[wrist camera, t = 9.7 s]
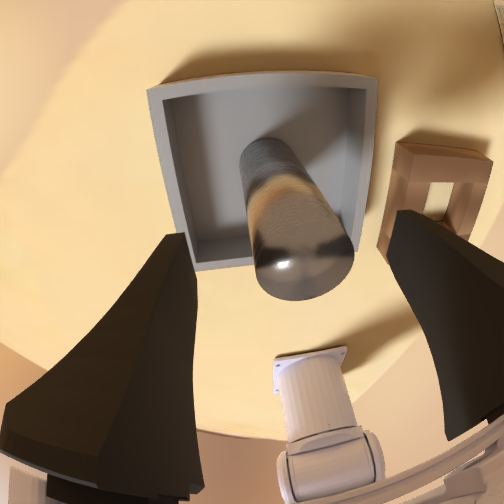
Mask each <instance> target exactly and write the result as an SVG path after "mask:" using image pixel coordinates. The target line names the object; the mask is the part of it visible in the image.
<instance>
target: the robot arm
mask: <svg viewBox="0 0 504 504" xmlns="http://www.w3.org/2000/svg"><path fill="white" fill-rule="evenodd" d="M386 257H387V260H388V262H389V265H390V267H391V270H392V272H393V274H394V277H395V279H396V281H397V283H398V285H399V286H400V288H401V290H402V292H403V294H404V295H405V297H406V299H407V301H408V303H409V304H410V306H411V308H412V310H413V312H414V314H415V316H416V318H417V319H418V321H419V323H420V325H421V327H422V330H423V332H424V334H425V336H426V339H427V342H428V345H429V348H430V351H431V354H432V357H433V360H434V364H435V368H436V371H437V375H438V379H439V385H440V390H441V395H442V401H443V411H444V423H445V434H446V437H447V440H448V441H451V440H452V439H454V438H456V437H458V436H459V435H461V434H463V433H464V432H466V431H468V430H469V429H471V428H473V427H474V426H476V425H477V424H479V423H480V422H482V421H484V420H485V419H487V421H488V424H489V425H488V426H486V427H485V428H483V429H482V430H480V431H479V432H477V433H476V434H474V435H472V436H471V437H469V438H468V439H466V440H464V441H463V442H461V443H460V444H458V445H456V446H455V447H452V448H451V449H449V450H447V451H445V452H443V453H442V454H440V455H438V456H436V457H434V458H432V459H430V460H428V461H426V462H424V463H422V464H419V465H418V466H415V467H413V468H411V469H408V470H406V471H404V472H401V473H399V474H396V475H394V476H391V477H389V478H386V479H385V462H384V456H383V452H382V449H381V446H380V443H379V441H378V439H377V437H376V435H375V434H373V433H371V432H370V431H368V430H365V431H363V430H362V426H357V422H356V419H355V415H354V412H353V408H352V405H351V401H350V398H349V395H348V391H347V388H346V384H345V381H344V378H343V375H342V371H341V366H342V363H343V361H344V358H345V356H346V353H347V350H348V349H347V347H346V346H342V347H337V348H332V349H327V350H322V351H317V352H311V353H306V354H300V355H294V356H287V357H281V358H276V359H274V360H273V392H274V394H275V395H279V394H280V396H281V402H282V408H283V413H284V419H285V425H286V431H287V436H288V442H289V444H287V445H286V447H287V451H282V452H281V454H280V455H279V457H278V458H277V473H278V481H279V486H280V490H281V493H282V497H283V499H284V500H285V504H383V503H385V502H388V501H390V500H393V499H395V498H398V497H400V496H402V495H405V494H407V493H409V492H411V491H414V490H416V489H418V488H420V487H422V486H424V485H426V484H428V483H430V482H432V481H434V480H436V479H438V478H440V477H441V476H443V475H445V474H447V473H449V472H450V471H452V470H454V469H455V468H456V469H455V470H454V471H452V472H451V473H450V474H449V475H447V476H446V477H445V478H444V485H442V486H440V487H438V488H435V489H433V490H431V491H429V492H427V493H425V494H423V495H420V496H418V497H416V498H413V499H411V500H408V501H406V502H403V503H401V504H504V263H503V262H502V261H500V260H498V259H496V258H494V257H492V256H491V255H489V254H487V253H486V252H484V251H482V250H481V249H479V248H478V247H476V246H474V245H473V244H471V243H469V242H468V241H466V240H464V239H463V238H461V237H460V236H458V235H456V234H455V233H453V232H452V231H450V230H448V229H447V228H445V227H443V226H442V225H440V224H438V223H437V222H435V221H433V220H432V219H430V218H428V217H426V216H424V215H422V214H420V213H418V212H416V211H413V210H411V209H409V210H397V214H396V218H395V222H394V226H393V231H392V235H391V238H390V242H389V246H388V250H387V253H386ZM197 309H198V297H197V278H196V274H195V270H194V267H193V263H192V259H191V255H190V251H189V247H188V243H187V239H186V235H185V232H182V233H174V234H167V235H165V237H164V238H163V239H162V241H161V242H160V243H159V245H158V246H157V247H156V249H155V250H154V252H153V253H152V254H151V256H150V257H149V259H148V260H147V261H146V263H145V264H144V265H143V267H142V268H141V270H140V271H139V272H138V274H137V275H136V276H135V278H134V279H133V281H132V282H131V283H130V284H129V286H128V287H127V288H126V289H125V291H124V292H123V293H122V295H121V296H120V297H119V298H118V300H117V301H116V302H115V304H114V305H113V306H112V307H111V308H110V310H109V311H108V312H107V313H106V314H105V315H104V316H103V318H102V319H101V320H100V321H99V322H98V323H97V324H96V325H95V326H94V328H93V329H92V330H91V331H90V332H89V333H88V334H87V335H86V336H85V337H84V338H83V339H82V340H81V341H80V342H79V343H78V344H77V345H76V346H75V347H74V348H73V349H72V350H71V351H70V352H69V353H68V354H67V355H66V356H65V357H64V358H63V359H61V360H60V361H59V362H58V363H57V364H56V365H55V366H54V367H53V368H51V369H50V370H49V371H48V372H47V373H46V374H44V375H43V376H42V377H41V378H40V379H38V380H37V381H36V382H35V383H33V384H32V385H31V386H30V387H28V388H27V389H25V390H24V391H23V392H21V394H19V395H18V396H16V397H15V398H14V399H12V400H11V401H9V402H8V403H7V404H6V406H5V411H4V415H3V420H2V426H1V431H0V453H2V454H4V455H6V456H8V457H11V458H13V459H15V460H17V461H19V462H21V463H24V464H26V465H28V466H30V467H33V468H35V469H38V470H40V471H43V472H45V473H48V474H47V480H45V479H43V478H40V477H38V476H35V475H33V474H30V473H28V472H26V471H23V470H21V469H19V468H16V467H14V466H11V467H10V478H9V501H8V504H178V503H179V502H178V501H190V494H198V493H199V492H200V491H201V490H202V489H203V488H204V487H205V486H204V481H203V475H202V469H201V463H200V456H199V449H198V442H197V433H196V423H195V411H194V397H193V357H194V344H195V332H196V321H197ZM483 450H485V453H484V454H483V455H482V456H479V457H477V458H475V459H473V460H472V461H470V462H467V461H468V460H470V459H471V458H473V457H474V456H476V455H477V454H479V453H480V452H482V451H483ZM465 462H467V463H465ZM464 463H465V464H464ZM462 464H463V465H462ZM460 465H462V466H460ZM459 466H460V467H459ZM457 467H458V468H457ZM327 496H328V497H327Z"/></svg>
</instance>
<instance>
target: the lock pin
mask: <svg viewBox="0 0 504 504" xmlns="http://www.w3.org/2000/svg"><path fill="white" fill-rule="evenodd" d="M239 170H240V176H241V183H242V189H243V195H244V202H245V208H246V214H247V221H248V227H249V234H250V240H251V246H252V253H253V259H254V265H255V272H256V278H257V280H258V283H259V284H260V286H261V287H262V288H263V290H264V291H266V292H267V293H268V294H270V295H271V296H274V297H276V298H279V299H282V300H288V301H302V300H308V299H312V298H316V297H318V296H321V295H323V294H325V293H327V292H329V291H330V290H332V289H333V288H335V287H336V286H337V285H339V284H340V283H341V282H342V281H343V280H344V279H345V277H346V276H347V275H348V273H349V271H350V270H351V267H352V265H353V261H354V246H353V244H352V241H351V239H350V238H349V236H348V234H347V233H346V231H345V229H344V228H343V226H342V224H341V223H340V221H339V220H338V218H337V216H336V215H335V213H334V211H333V210H332V208H331V207H330V205H329V204H328V202H327V200H326V199H325V197H324V196H323V194H322V193H321V191H320V190H319V188H318V187H317V185H316V184H315V182H314V181H313V179H312V178H311V176H310V175H309V173H308V172H307V170H306V169H305V167H304V166H303V164H302V163H301V162H300V160H299V159H298V157H297V156H296V155H295V153H294V152H293V150H292V149H291V148H290V146H289V145H288V144H286V143H285V142H284V141H282V140H280V139H277V138H271V137H266V138H260V139H257V140H255V141H253V142H251V143H250V144H249V145H248V146H247V147H246V148H245V149H244V150H243V152H242V154H241V156H240V160H239Z"/></svg>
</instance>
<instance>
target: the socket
mask: <svg viewBox="0 0 504 504" xmlns="http://www.w3.org/2000/svg"><path fill="white" fill-rule="evenodd" d="M492 166H493V161H492V160H490V159H489V158H487V157H486V156H484V155H482V154H481V153H479V152H478V151H476V150H470V149H462V148H455V147H446V146H437V145H426V144H413V143H397V142H396V145H395V152H394V159H393V166H392V173H391V179H390V185H389V190H388V196H387V201H386V206H385V211H384V216H383V221H382V225H381V230H380V234H379V238H378V242H377V248H378V250H379V251H380V253H381V254H382V256H383V257H384V259H385V261H386V262H387V264H389V262H388V260H387V257H386V253H387V250H388V246H389V242H390V238H391V235H392V231H393V226H394V222H395V218H396V214H397V210H409V209H411V210H413V211H416V212H418V213H420V214H423V210H424V207H425V203H426V199H427V195H428V191H429V187H430V182H455V183H454V187H453V190H452V194H451V198H450V201H449V205H448V208H447V211H446V214H445V218H444V221H438V222H437V223H438V224H440V225H442V226H443V227H445V228H447V229H448V230H450V231H452V232H453V233H455V234H456V235H458V236H460V237H461V238H463V239H464V240H466V241H468V240H469V237H470V235H471V232H472V230H473V227H474V224H475V221H476V219H477V216H478V213H479V210H480V207H481V204H482V201H483V198H484V195H485V191H486V188H487V185H488V181H489V177H490V174H491V170H492Z"/></svg>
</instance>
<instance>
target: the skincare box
mask: <svg viewBox="0 0 504 504" xmlns="http://www.w3.org/2000/svg"><path fill="white" fill-rule="evenodd" d="M493 2H494V5H495V9H496V13H497V17H498V21H499V24H500V29H501V33H502V38H503V43H504V0H493Z"/></svg>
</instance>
